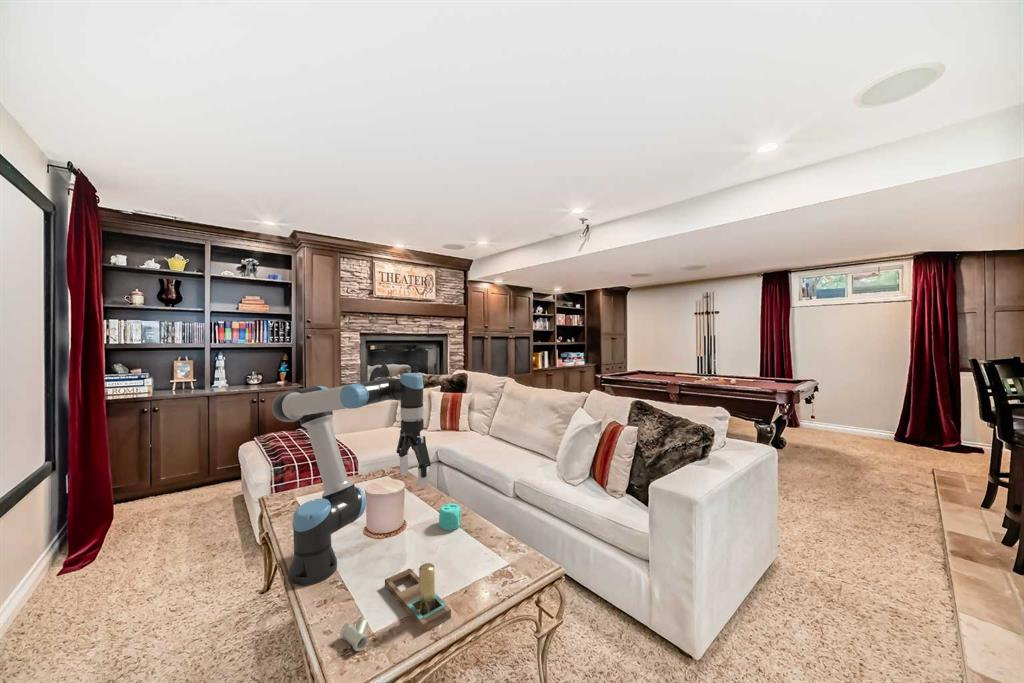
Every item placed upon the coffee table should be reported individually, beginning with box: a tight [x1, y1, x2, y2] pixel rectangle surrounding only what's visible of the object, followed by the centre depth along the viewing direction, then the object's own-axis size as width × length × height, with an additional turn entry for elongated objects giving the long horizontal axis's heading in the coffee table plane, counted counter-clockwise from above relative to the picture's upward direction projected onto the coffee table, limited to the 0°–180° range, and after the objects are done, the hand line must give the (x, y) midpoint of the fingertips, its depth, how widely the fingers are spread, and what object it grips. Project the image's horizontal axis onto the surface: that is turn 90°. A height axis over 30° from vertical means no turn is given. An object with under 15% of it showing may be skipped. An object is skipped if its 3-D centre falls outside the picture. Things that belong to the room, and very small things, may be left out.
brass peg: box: [418, 562, 436, 616], centre depth 118 cm, size 4×4×14 cm
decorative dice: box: [438, 503, 462, 531], centre depth 170 cm, size 8×8×8 cm
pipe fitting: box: [339, 618, 369, 652], centre depth 109 cm, size 8×4×7 cm
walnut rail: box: [384, 568, 452, 634], centre depth 123 cm, size 26×9×3 cm, turn 41°
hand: (413, 480), depth 136 cm, fingers open, 13 cm apart
